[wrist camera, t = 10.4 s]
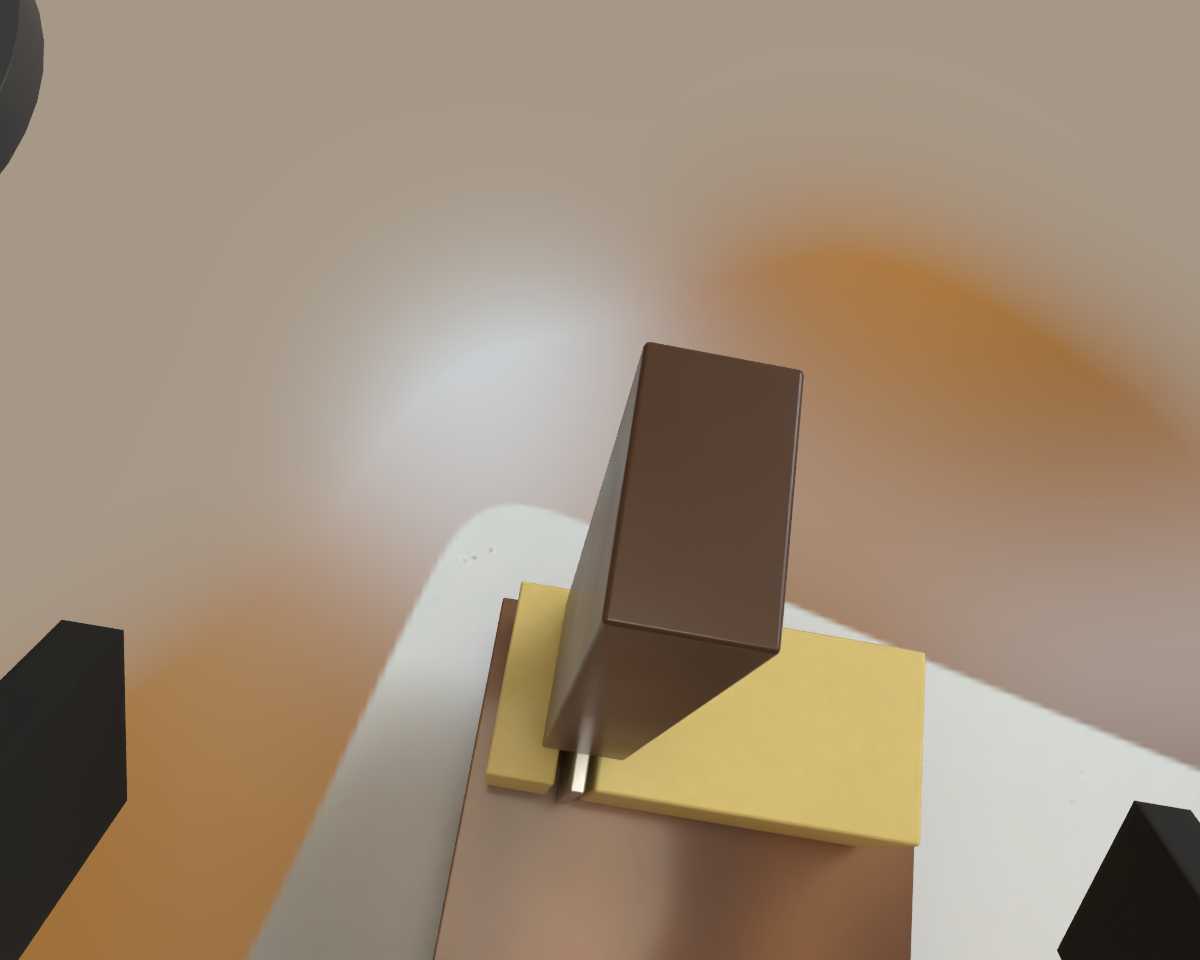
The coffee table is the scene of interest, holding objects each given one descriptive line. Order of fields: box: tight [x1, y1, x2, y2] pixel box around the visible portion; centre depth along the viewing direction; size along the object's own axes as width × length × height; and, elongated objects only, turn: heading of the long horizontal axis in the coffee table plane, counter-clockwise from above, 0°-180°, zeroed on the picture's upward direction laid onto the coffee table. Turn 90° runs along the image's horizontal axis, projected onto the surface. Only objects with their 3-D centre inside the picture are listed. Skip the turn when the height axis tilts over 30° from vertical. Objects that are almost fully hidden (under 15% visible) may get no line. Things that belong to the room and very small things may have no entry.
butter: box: [486, 582, 925, 847], centre depth 25 cm, size 10×4×4 cm, turn 81°
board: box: [433, 598, 914, 960], centre depth 26 cm, size 12×12×2 cm
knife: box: [542, 342, 804, 804], centre depth 18 cm, size 2×5×17 cm, turn 171°
